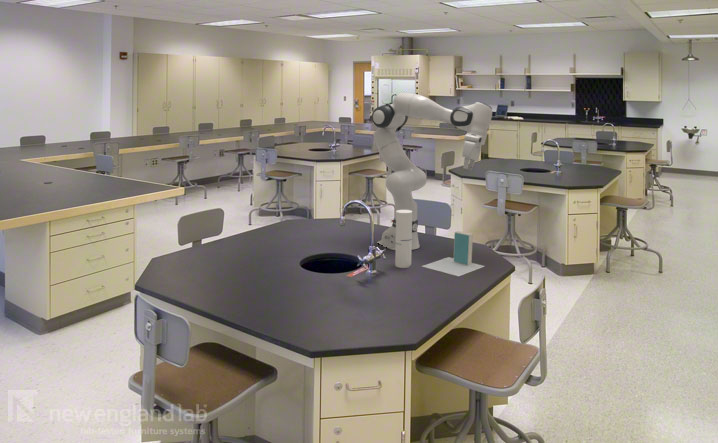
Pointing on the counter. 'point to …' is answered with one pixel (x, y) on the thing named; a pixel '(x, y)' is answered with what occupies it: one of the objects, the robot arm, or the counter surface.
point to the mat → (452, 267)
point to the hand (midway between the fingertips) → (467, 169)
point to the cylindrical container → (403, 238)
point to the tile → (463, 247)
